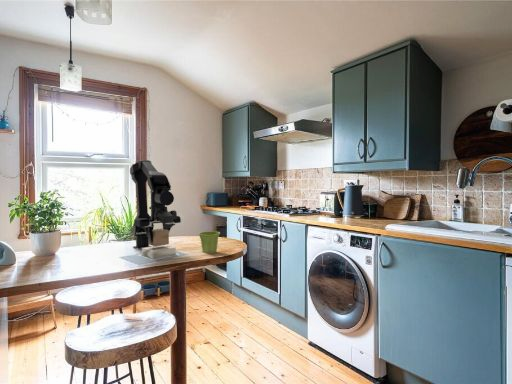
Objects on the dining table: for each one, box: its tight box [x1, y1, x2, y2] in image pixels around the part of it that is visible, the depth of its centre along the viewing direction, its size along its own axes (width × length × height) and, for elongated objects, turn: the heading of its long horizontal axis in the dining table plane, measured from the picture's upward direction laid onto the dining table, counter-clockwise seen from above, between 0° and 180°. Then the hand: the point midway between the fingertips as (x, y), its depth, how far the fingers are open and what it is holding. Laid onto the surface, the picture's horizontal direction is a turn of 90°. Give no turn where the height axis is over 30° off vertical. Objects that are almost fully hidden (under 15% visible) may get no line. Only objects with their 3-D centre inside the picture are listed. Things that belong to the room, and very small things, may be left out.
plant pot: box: [198, 230, 221, 254], centre depth 137 cm, size 9×9×9 cm
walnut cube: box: [148, 228, 170, 246], centre depth 130 cm, size 6×6×6 cm
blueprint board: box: [118, 250, 189, 265], centre depth 129 cm, size 17×22×1 cm
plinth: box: [141, 244, 177, 259], centre depth 130 cm, size 10×10×3 cm
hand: (158, 241), depth 130 cm, fingers closed on walnut cube, 6 cm apart
